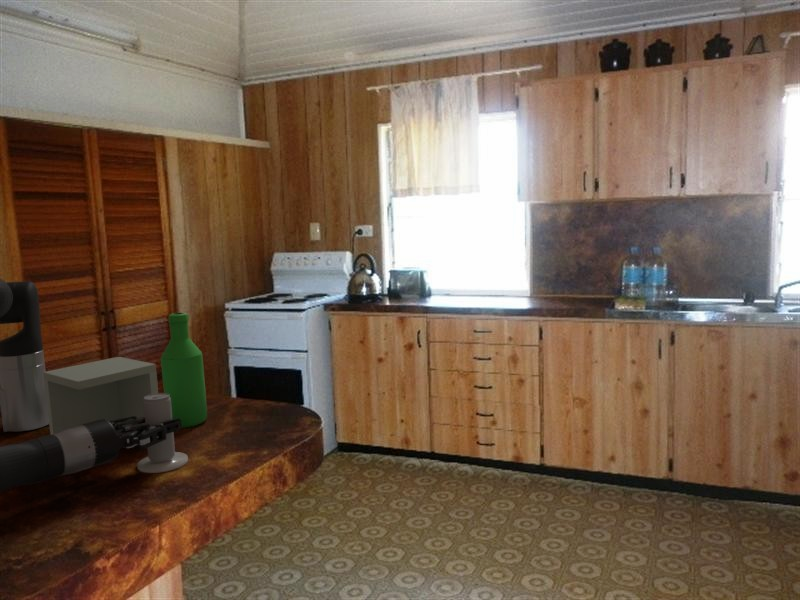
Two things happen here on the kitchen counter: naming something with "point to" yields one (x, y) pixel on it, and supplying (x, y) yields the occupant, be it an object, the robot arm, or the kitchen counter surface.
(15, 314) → the robot arm
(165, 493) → the kitchen counter surface
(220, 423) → the kitchen counter surface
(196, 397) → the bottle
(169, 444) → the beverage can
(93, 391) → the shelf housing
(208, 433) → the kitchen counter surface
